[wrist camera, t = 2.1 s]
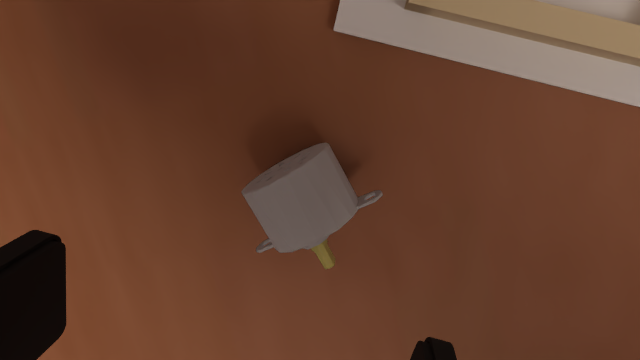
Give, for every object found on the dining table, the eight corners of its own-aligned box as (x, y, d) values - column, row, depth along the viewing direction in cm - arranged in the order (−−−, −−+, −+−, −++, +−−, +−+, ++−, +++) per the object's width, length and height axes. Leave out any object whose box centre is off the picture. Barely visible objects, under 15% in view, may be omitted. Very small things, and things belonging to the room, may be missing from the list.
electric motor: (285, 250, 22) (261, 304, 17) (242, 179, 21) (204, 216, 16) (395, 202, 20) (401, 248, 16) (354, 122, 19) (347, 145, 15)
